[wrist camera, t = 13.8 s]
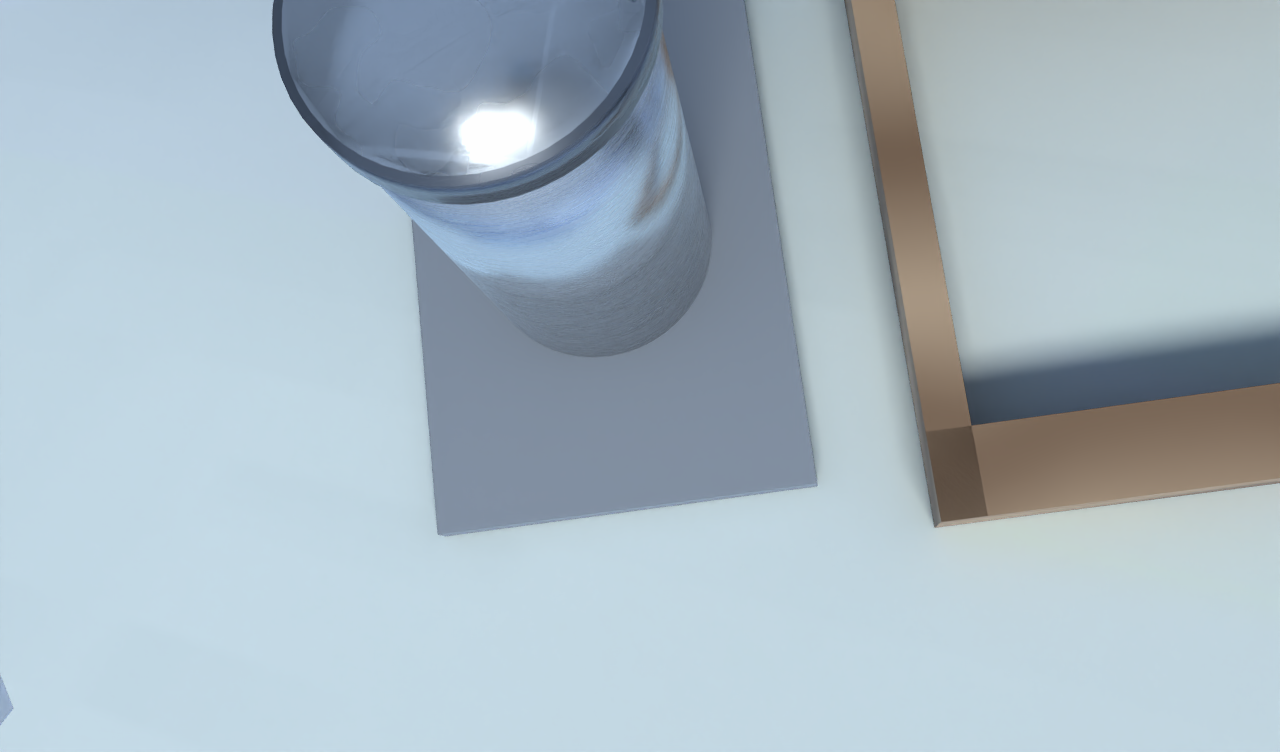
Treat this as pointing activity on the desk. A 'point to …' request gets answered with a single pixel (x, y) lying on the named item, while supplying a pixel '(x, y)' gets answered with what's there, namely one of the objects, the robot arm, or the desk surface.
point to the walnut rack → (1044, 445)
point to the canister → (519, 149)
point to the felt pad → (647, 376)
